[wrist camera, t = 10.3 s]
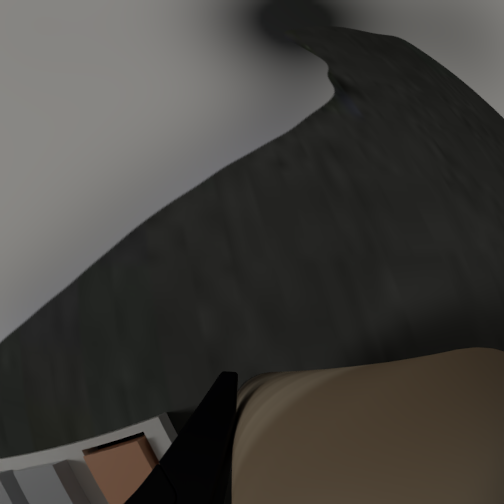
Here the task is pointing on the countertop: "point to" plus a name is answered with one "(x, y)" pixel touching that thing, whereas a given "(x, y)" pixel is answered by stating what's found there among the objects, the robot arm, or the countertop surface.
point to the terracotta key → (122, 468)
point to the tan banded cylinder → (374, 433)
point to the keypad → (71, 467)
